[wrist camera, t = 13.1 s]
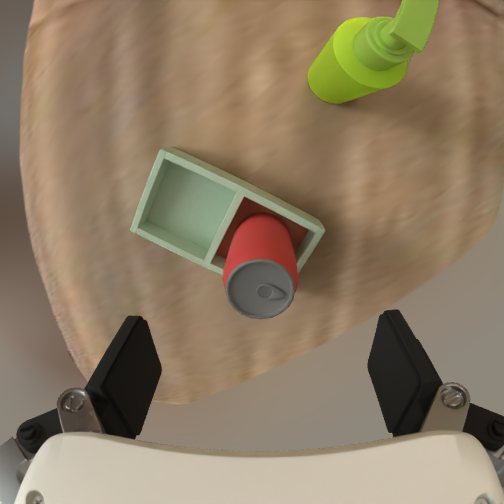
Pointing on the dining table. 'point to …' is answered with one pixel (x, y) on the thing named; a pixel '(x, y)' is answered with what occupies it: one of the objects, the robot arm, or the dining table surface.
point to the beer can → (260, 267)
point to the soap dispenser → (371, 52)
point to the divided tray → (210, 211)
